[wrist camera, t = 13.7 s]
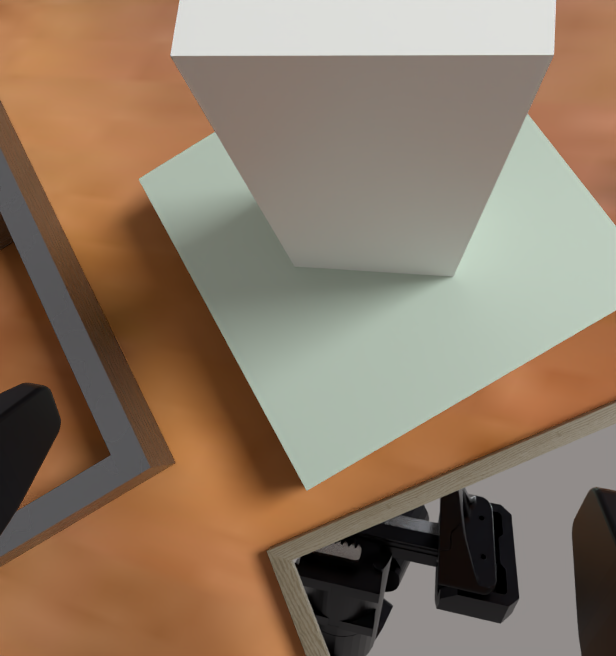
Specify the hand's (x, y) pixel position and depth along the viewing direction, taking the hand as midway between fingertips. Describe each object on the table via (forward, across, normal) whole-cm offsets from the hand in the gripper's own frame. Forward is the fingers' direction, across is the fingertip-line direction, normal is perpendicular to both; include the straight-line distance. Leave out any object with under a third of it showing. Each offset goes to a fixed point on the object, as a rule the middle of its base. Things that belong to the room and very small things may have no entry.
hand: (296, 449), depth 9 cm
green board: (+11, 0, +2) cm, 12 cm away
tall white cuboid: (+10, 0, 0) cm, 10 cm away
